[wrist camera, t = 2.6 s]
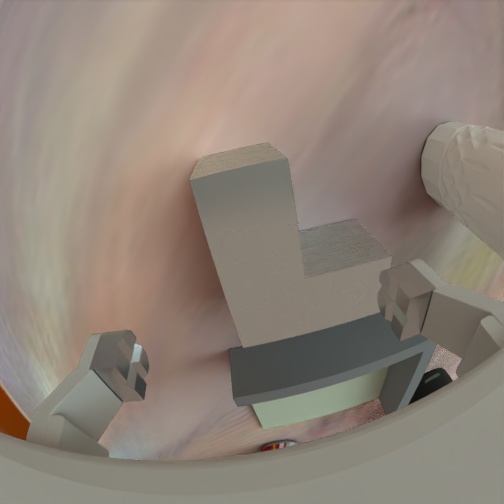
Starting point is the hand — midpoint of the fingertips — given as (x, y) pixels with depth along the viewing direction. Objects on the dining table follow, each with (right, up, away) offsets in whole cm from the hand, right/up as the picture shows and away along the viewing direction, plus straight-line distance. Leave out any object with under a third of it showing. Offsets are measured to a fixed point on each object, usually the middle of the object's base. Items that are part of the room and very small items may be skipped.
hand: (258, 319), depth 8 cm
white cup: (+15, +9, +8) cm, 19 cm away
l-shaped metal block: (+2, +4, +9) cm, 10 cm away
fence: (+8, -12, +19) cm, 24 cm away
